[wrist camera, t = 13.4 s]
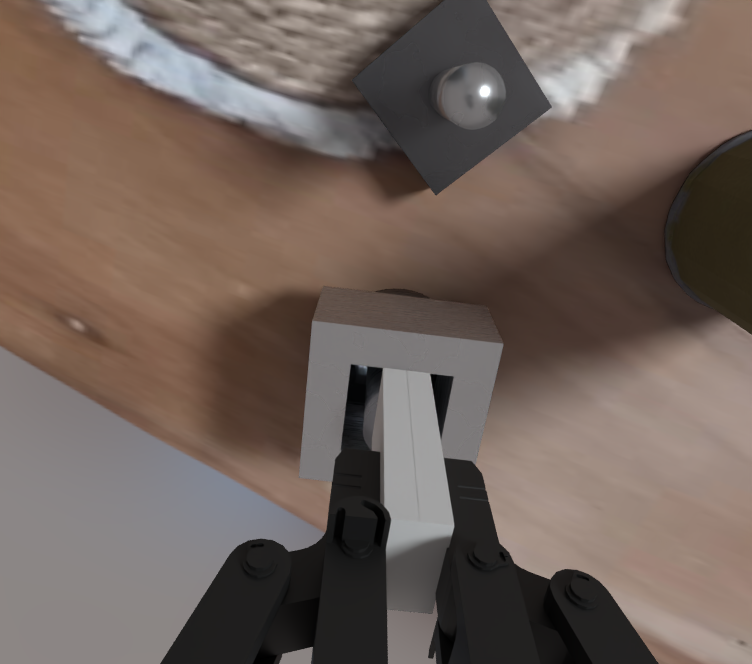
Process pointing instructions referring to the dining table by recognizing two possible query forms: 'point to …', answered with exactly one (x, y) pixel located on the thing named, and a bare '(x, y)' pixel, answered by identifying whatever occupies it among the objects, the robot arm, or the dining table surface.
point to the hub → (373, 381)
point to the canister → (716, 232)
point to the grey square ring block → (396, 351)
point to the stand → (452, 90)
